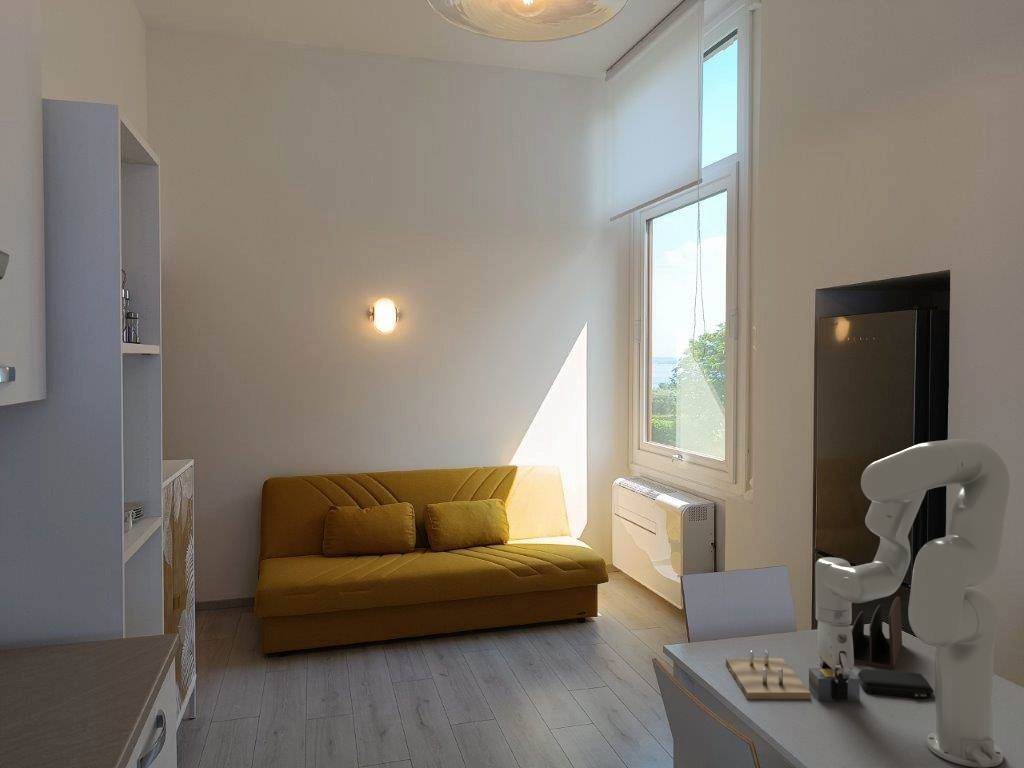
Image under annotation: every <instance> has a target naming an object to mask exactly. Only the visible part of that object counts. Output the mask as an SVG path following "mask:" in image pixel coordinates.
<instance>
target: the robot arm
mask: <svg viewBox="0 0 1024 768" xmlns="http://www.w3.org/2000/svg"><path fill="white" fill-rule="evenodd" d="M1010 482H1011V481H1010V475H1009V470H1008V469H1007V466H1006V464H1005V461H1004V460H1003V458H1002V457H1001V456H1000V455H999V454H998V452H996V450H995V449H993V448H992V447H991V446H989V445H987V444H985V443H983V442H982V441H979V440H976V439H969V438H953V439H945V440H944V439H943V440H935V441H926V442H921V443H918V444H915V445H913V446H910V447H908V448H906V449H903V450H901V451H899V452H896V453H893V454H890V455H888V456H886V457H883V458H881V459H878V460H876V461H873V462H872V463H870V464H869V465H868V466H867V467H866V468H865V469H864V470H863V472H862V475H861V478H860V487H861V488H860V489H861V491H862V493H863V494H864V496H865V497H866V498H867V499H868V500H869V501H871V503H870V506H869V508H868V511H867V513H866V515H865V519H864V523H865V527H867V529H869V531H870V532H872V534H875V535H876V536H878V537H879V546H878V549H877V551H876V554H875V556H874V558H873V560H872V562H869V563H864V564H860V565H855V566H854V565H853V566H851V564H850V562H849V561H848V560H846V559H844V558H840V557H834V556H833V557H832V556H829V557H828V556H826V557H821V558H820V557H819V558H818V559H816V560H817V561H816V562H815V564H814V565H815V567H814V571H815V573H814V574H815V576H814V577H815V578H814V579H815V581H814V582H815V591H814V592H815V619H816V621H817V630H816V633H817V634H816V642H817V643H816V645H817V647H816V648H817V654H818V655H819V659H820V662H819V664H820V668H832V671H833V678H834V681H832V698H833V699H834V700H847V699H848V678H849V676H850V670H851V671H852V670H854V668H855V663H854V653H853V639H852V631H851V630H852V627H851V624H852V623H853V621H852V619H853V617H852V615H853V614H852V613H853V612H852V611H853V610H852V609H853V608H852V607H853V606H852V604H862V603H867V602H870V601H874V600H878V599H882V598H886V597H889V596H891V595H893V594H894V593H895V592H896V591H898V589H900V586H901V585H902V583H903V581H904V578H905V576H906V574H907V572H908V569H909V566H910V562H911V558H912V557H911V555H912V553H911V545H910V540H909V533H910V531H911V529H912V526H913V524H914V522H915V519H916V517H917V514H918V512H919V510H920V508H921V505H922V502H923V500H924V499H925V496H926V493H927V491H928V490H932V489H935V488H941V487H945V486H946V487H947V486H953V485H960V488H959V492H958V493H957V496H956V498H955V500H954V502H953V505H952V507H951V508H952V509H951V512H950V522H949V527H948V531H947V534H946V535H945V536H944V537H939V538H934V539H932V540H930V541H928V542H926V543H925V544H923V546H922V547H920V548H919V551H918V553H917V554H916V556H915V560H914V564H913V570H912V578H911V583H910V592H909V599H908V600H909V601H908V609H907V611H908V612H907V615H908V622H909V626H910V628H911V630H912V632H913V634H914V636H915V637H916V638H917V639H918V640H920V641H921V642H922V643H923V644H925V645H927V646H930V647H933V648H936V649H935V657H934V658H935V661H934V662H935V663H934V668H935V669H934V671H935V672H934V676H935V677H934V678H935V679H934V681H935V683H934V685H935V687H934V688H935V690H934V693H935V694H934V699H935V700H934V704H935V709H934V710H935V713H934V714H935V730H934V731H932V732H931V733H929V734H928V735H927V736H926V746H927V747H928V749H929V750H930V751H931V752H932V753H934V754H935V755H936V756H938V757H939V758H941V759H944V760H945V761H948V762H950V763H953V764H956V765H960V766H964V767H971V768H994V767H997V766H999V765H1000V764H1002V762H1003V761H1004V752H1003V751H1002V749H1001V748H1000V747H999V746H998V745H997V744H996V743H995V740H994V653H995V643H996V638H997V632H998V627H999V626H998V625H999V615H998V614H999V613H998V609H997V607H996V605H995V603H994V601H993V600H992V598H991V597H990V596H989V595H988V594H987V593H986V592H984V591H983V590H981V589H979V588H976V587H974V586H978V585H981V584H985V583H987V582H988V581H990V580H992V579H993V578H994V577H995V575H996V574H997V570H998V565H999V561H1000V553H1001V548H1002V547H1001V546H1002V539H1003V532H1004V524H1005V523H1004V522H1005V518H1006V517H1005V516H1006V511H1007V505H1008V500H1009V496H1010V495H1009V494H1010ZM837 666H840V667H837ZM849 669H850V670H849ZM837 671H841V673H839V675H838V676H837Z"/></svg>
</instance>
